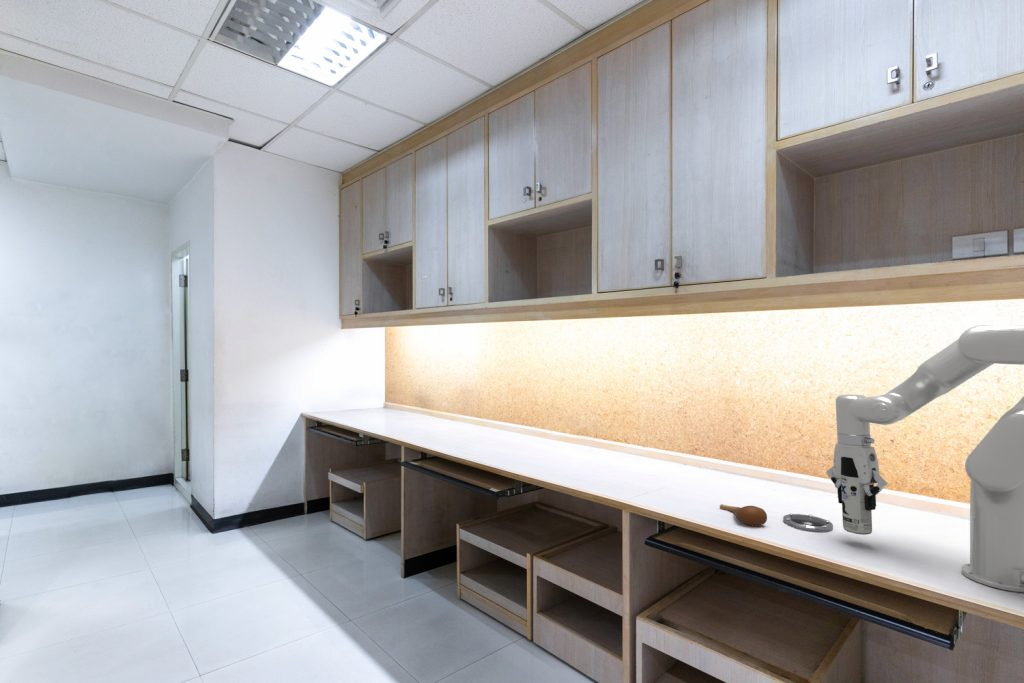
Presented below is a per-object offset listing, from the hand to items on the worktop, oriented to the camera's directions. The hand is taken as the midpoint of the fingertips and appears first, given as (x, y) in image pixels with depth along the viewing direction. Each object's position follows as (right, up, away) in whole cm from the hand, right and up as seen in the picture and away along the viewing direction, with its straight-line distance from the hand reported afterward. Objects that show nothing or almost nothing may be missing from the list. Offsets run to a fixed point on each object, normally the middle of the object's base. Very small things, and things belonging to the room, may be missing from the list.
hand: (856, 505), depth 138 cm
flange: (-4, -11, +15) cm, 19 cm away
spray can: (0, -7, 0) cm, 7 cm away
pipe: (-23, -11, +20) cm, 33 cm away
